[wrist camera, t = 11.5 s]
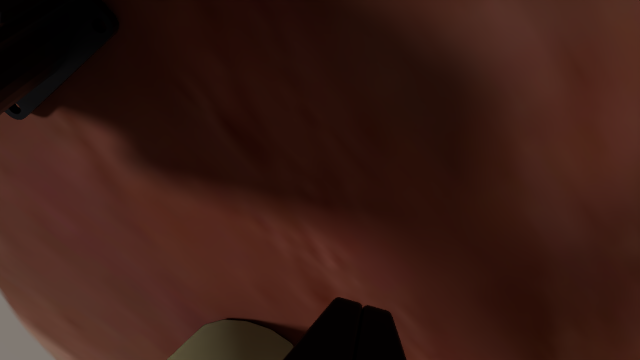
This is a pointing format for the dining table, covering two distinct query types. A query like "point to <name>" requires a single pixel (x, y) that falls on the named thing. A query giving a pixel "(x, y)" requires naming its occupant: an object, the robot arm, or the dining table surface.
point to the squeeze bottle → (233, 343)
